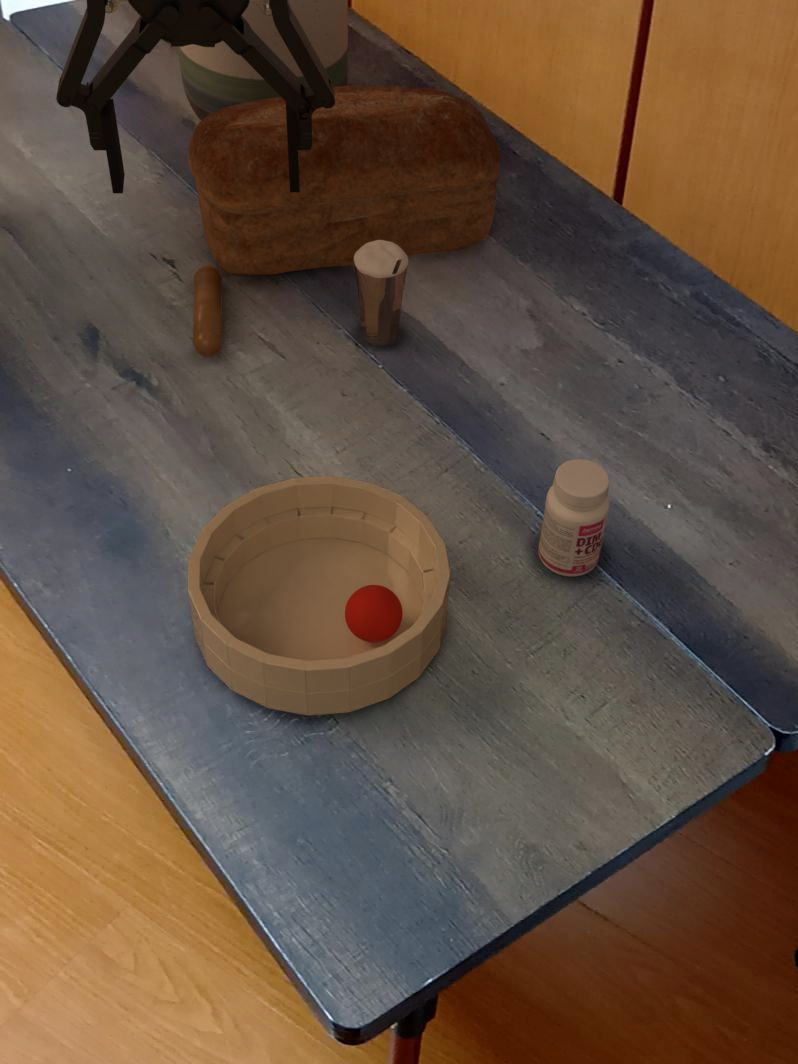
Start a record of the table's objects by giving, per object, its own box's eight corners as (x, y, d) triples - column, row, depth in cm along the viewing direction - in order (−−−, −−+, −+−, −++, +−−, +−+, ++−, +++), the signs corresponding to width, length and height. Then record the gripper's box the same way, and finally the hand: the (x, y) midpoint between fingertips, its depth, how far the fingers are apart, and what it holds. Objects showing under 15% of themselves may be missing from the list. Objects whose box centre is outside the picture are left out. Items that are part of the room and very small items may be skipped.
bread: (188, 221, 126) (173, 82, 116) (466, 188, 135) (475, 56, 124) (213, 296, 119) (199, 154, 108) (506, 256, 127) (519, 121, 117)
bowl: (194, 733, 87) (186, 678, 83) (196, 538, 99) (189, 481, 95) (458, 712, 90) (464, 659, 86) (431, 526, 102) (434, 470, 98)
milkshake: (374, 362, 115) (375, 266, 107) (345, 327, 118) (344, 232, 110) (419, 347, 117) (423, 252, 109) (390, 313, 120) (392, 219, 112)
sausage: (223, 361, 113) (221, 339, 111) (194, 362, 112) (191, 340, 111) (222, 281, 120) (220, 259, 119) (195, 281, 120) (193, 259, 118)
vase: (176, 84, 143) (150, -151, 125) (331, 75, 148) (327, -153, 130) (196, 168, 132) (172, -76, 115) (363, 156, 137) (364, -80, 119)
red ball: (346, 655, 92) (346, 619, 89) (343, 611, 94) (342, 574, 91) (404, 651, 92) (406, 615, 89) (399, 608, 95) (400, 571, 92)
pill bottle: (578, 588, 99) (593, 510, 93) (525, 559, 101) (536, 481, 95) (610, 551, 102) (626, 473, 96) (559, 523, 104) (571, 445, 98)
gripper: (-21, -73, 85) (38, 211, 100) (368, -62, 89) (368, 208, 105) (-8, -120, 90) (47, 158, 105) (361, -107, 94) (362, 157, 110)
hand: (207, 184), depth 105 cm, fingers open, 13 cm apart
